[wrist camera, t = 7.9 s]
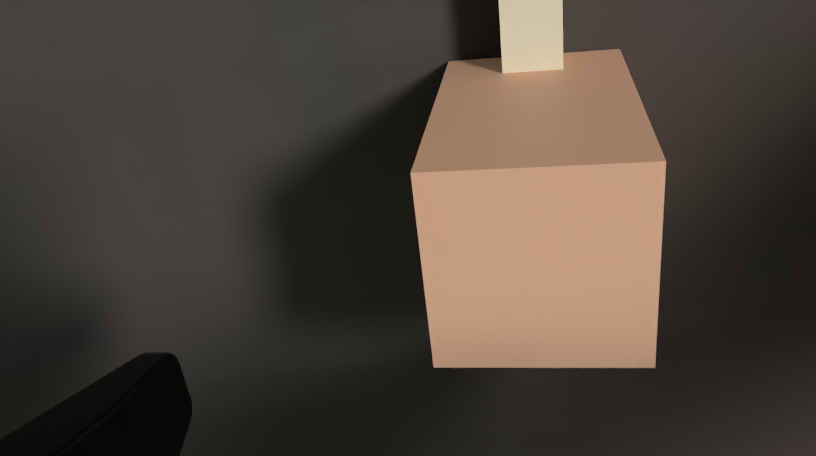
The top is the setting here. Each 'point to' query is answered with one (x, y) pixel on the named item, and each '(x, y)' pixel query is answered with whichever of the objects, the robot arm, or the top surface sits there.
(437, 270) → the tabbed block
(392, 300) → the top surface
